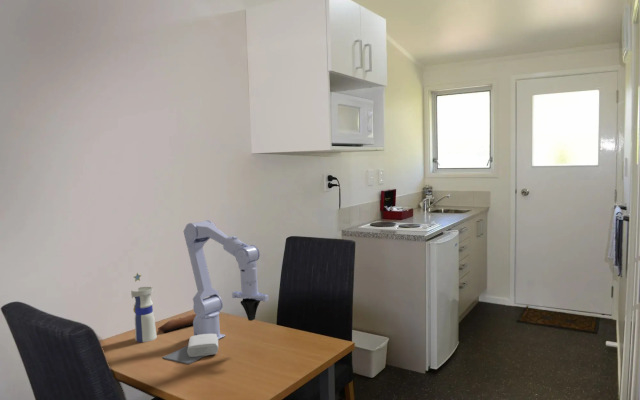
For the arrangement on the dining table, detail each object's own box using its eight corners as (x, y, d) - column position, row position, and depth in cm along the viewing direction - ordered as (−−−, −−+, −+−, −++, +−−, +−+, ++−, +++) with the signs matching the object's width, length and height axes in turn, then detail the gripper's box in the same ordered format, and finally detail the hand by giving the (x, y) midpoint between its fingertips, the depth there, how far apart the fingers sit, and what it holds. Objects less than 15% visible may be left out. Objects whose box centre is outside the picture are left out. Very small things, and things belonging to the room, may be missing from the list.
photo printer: (186, 346, 157) (189, 333, 169) (187, 358, 158) (189, 345, 170) (217, 342, 159) (218, 330, 171) (218, 354, 160) (218, 342, 172)
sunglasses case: (197, 318, 203) (200, 306, 200) (204, 329, 199) (207, 317, 196) (156, 328, 192) (158, 316, 189) (162, 341, 187) (164, 328, 184)
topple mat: (162, 358, 160) (162, 357, 160) (188, 346, 170) (188, 345, 170) (189, 364, 154) (189, 363, 154) (214, 351, 164) (214, 350, 164)
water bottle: (128, 341, 178) (123, 276, 177) (144, 334, 186) (140, 271, 184) (146, 343, 175) (140, 277, 173) (161, 335, 183) (156, 272, 181)
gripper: (225, 282, 163) (227, 320, 164) (258, 285, 155) (261, 325, 156) (238, 277, 169) (241, 314, 170) (271, 280, 162) (273, 319, 162)
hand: (251, 319), depth 163 cm, fingers closed
